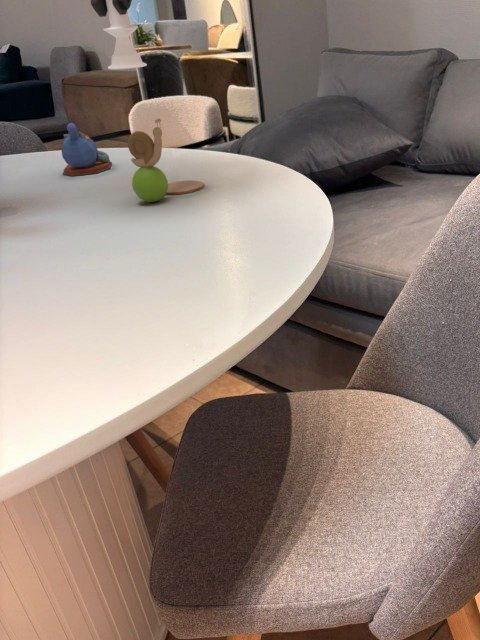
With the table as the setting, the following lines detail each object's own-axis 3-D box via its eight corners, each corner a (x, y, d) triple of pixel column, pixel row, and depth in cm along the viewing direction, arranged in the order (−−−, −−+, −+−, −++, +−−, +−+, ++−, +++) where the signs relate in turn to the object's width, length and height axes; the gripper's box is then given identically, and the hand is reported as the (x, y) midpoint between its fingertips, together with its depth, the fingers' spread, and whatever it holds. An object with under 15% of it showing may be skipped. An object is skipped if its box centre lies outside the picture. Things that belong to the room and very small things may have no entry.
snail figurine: (165, 206, 97) (149, 122, 91) (129, 206, 99) (111, 123, 93) (182, 197, 102) (168, 115, 95) (147, 196, 104) (131, 117, 97)
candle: (154, 65, 89) (138, -39, 82) (122, 70, 85) (102, -39, 79) (132, 65, 92) (114, -36, 85) (100, 69, 89) (79, -35, 82)
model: (108, 172, 124) (96, 120, 119) (60, 178, 123) (46, 126, 118) (113, 160, 134) (102, 113, 129) (69, 166, 133) (56, 118, 128)
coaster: (152, 196, 104) (152, 194, 103) (161, 185, 110) (160, 182, 110) (201, 192, 103) (200, 190, 103) (207, 181, 110) (206, 178, 110)
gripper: (78, -118, 85) (46, -8, 82) (169, -135, 81) (138, -19, 78) (111, -67, 92) (82, 36, 89) (196, -81, 88) (169, 28, 84)
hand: (108, 10), depth 83 cm, fingers closed on candle, 2 cm apart
